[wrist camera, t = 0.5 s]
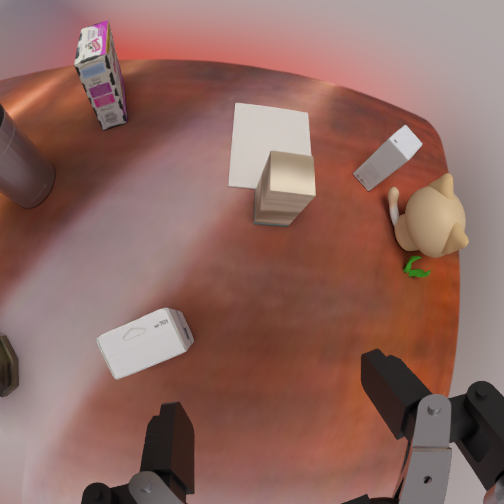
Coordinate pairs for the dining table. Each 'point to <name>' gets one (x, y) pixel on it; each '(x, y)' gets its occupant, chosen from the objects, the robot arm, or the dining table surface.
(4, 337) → the book lectern
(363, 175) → the skincare box
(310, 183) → the birch block
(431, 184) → the kitten
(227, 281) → the dining table surface
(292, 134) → the mat
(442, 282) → the dining table surface
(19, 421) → the dining table surface
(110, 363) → the ink box
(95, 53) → the candy bar box
